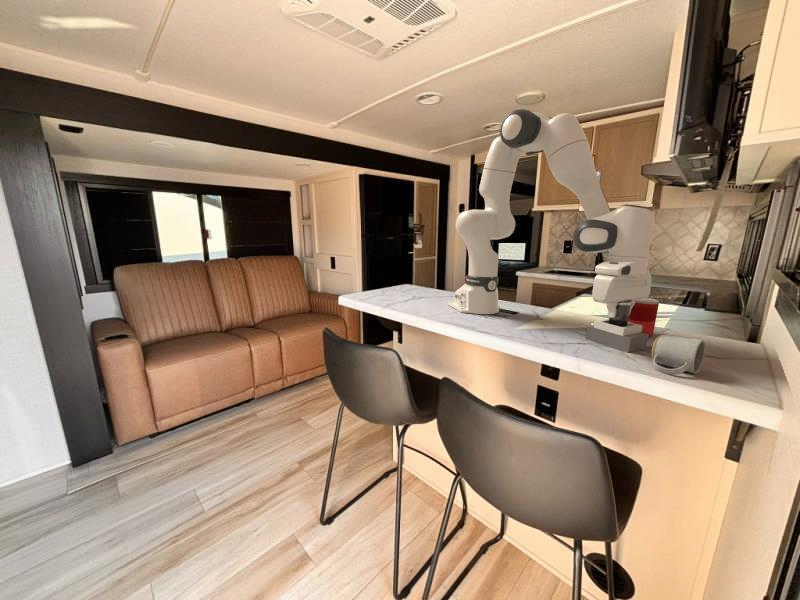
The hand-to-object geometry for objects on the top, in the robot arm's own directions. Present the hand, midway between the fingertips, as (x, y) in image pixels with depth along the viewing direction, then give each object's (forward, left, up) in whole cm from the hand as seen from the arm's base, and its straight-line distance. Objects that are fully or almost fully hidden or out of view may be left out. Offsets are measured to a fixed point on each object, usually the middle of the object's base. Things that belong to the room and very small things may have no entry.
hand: (618, 315), depth 87 cm
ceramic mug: (+16, -4, -8) cm, 19 cm away
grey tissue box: (0, 0, -8) cm, 8 cm away
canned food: (-3, +16, -8) cm, 18 cm away
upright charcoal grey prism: (0, 0, -3) cm, 3 cm away
